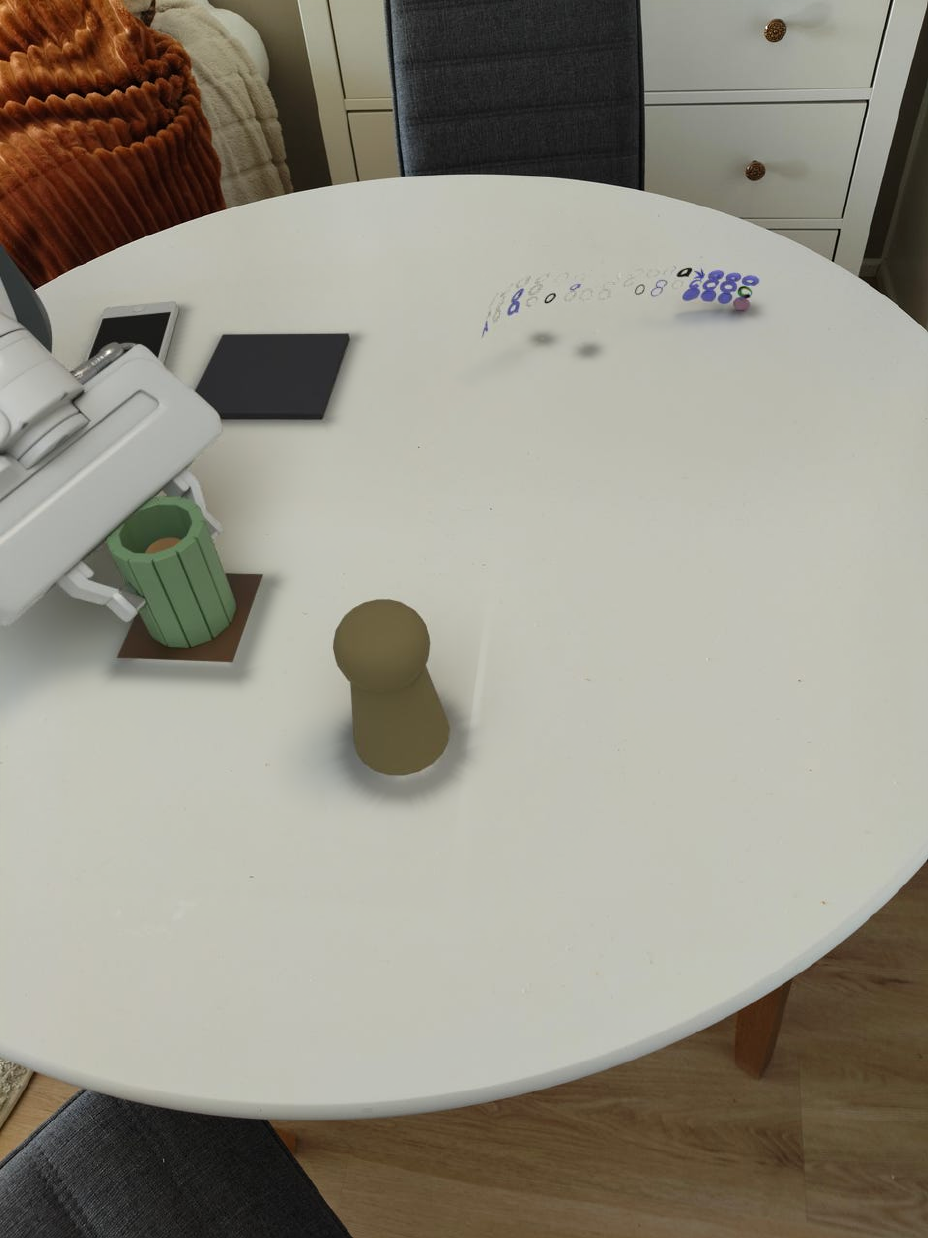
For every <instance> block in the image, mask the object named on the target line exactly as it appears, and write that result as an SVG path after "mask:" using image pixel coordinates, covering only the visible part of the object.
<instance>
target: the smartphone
mask: <svg viewBox="0 0 928 1238" xmlns="http://www.w3.org/2000/svg"><path fill="white" fill-rule="evenodd" d="M178 314H179V307H178V304H177V302H176V300H171V301H159V302H151V303H149V302H148V303H140V304H130V305H122V306H121V305H120V306H109V307H106V308H104V310H103V311H102V314H101V315H100V316H101V317H100V319H99V322H98V324H97V327H96V330H95V332H94V335H93V338H92V341H91V343H90V346H89V349H88V351H87V354H86V357H85V359H84V362H85V361H87V360H89V359H91V358H93V357H94V356H96V355H97V354H98V353H99V351H100V350H101V349H102V348H103V347H105V346H106V345H108V344H110V343H113V342H117V343H119V344H122V343H135V344H141V345H143V346H145V347H146V348H148V349H149V350H150V351H151V352H152V353H153V354H154V355H155V356H156V357H157V358H158V359H159V360H160V361H161V362H162V363H163V364H164V365H165V362H166V357H167V354H168V351H169V347H170V343H171V341H172V340H171V339H172V336H173V333H174V330H175V329H174V328H175V325H176V323H177V319H178ZM129 350H130V349H124V354H125V353H126V352H128V351H129ZM124 354H123V355H124ZM108 366H109V365H108ZM108 366H107V367H108ZM104 369H105V368H104ZM104 369H103V370H104Z"/></svg>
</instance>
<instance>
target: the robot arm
mask: <svg viewBox="0 0 928 1238" xmlns="http://www.w3.org/2000/svg"><path fill="white" fill-rule="evenodd" d="M1 242H2V241H0V626H3V627H7V626H11V625H12V624H13V623H15V622H16V621H17V620H18V619H20V617H21V616H23V615H24V614H25V613H26V612H27V611H28V610H29V609H31V607H33V606H34V605H35V604H36V603H37V602H39V601H40V600H41V599H42V598H43V597H44V596H45V595H47V594H48V592H50V591H51V590H52V589H53V588H54V587H55V586H56V585H58V586H59V587H60V588H61V589H62V590H63V591H64V592H65V593H67V594H68V595H69V596H70V597H71V598H74V599H78V600H81V601H86V602H89V603H93V604H97V605H101V606H106V607H107V608H109V609H110V610H111V611H112V612H113V613H114V614H115V615H116V616H117V617H118V618H119V619H120V620H122V621H123V622H124V623H129V622H131V620H132V619H133V620H134V618H135V616H136V615H137V614H138V613H139V612H140V611H141V610H142V609H143V608H144V607H145V606H146V605H147V604H148V602H147V600H146V598H145V597H144V596H142V595H141V594H137V590H136V589H135V588H134V587H133V586H132V585H131V584H130V583H129V582H128V583H127V584H124V585H123V586H122V587H121V588H120V589H119V588H115V587H112V586H110V585H106V584H104V583H99V582H97V581H94V580H91V578H92V577H93V576H94V575H95V573H94V571H93V569H91V568H90V567H89V566H88V565H87V564H86V563H85V562H84V560H86V559H87V558H88V557H89V556H90V555H92V553H94V552H95V551H96V550H97V549H98V548H99V547H100V546H101V545H103V544H104V543H105V542H107V540H106V537H107V536H108V535H109V534H110V533H111V532H113V531H114V530H115V529H116V528H117V527H118V526H119V525H120V524H122V523H123V522H124V521H125V520H126V519H127V518H128V517H130V516H131V515H132V514H133V513H134V512H135V511H136V510H137V509H139V508H140V507H141V506H142V505H143V504H144V503H145V502H146V501H148V500H149V499H151V498H154V497H157V496H158V495H159V494H160V493H161V492H163V493H164V494H165V495H166V496H167V497H181V498H183V497H184V498H186V499H188V500H190V501H192V502H194V503H196V504H198V506H199V507H200V508H201V511H202V513H203V516H204V518H205V521H206V524H207V526H208V529H209V532H210V535H211V537H212V540H213V541H214V540H215V539H216V538H218V537H219V535H220V534H221V533H223V531H224V527H223V526H222V524H221V523H220V522H219V521H218V520H217V519H216V518H215V517H214V516H213V515H212V514H211V513H210V512H209V511H208V510H207V503H206V501H205V497H204V493H203V490H202V487H201V483H200V480H199V479H198V478H197V477H196V476H195V474H193V472H191V471H190V470H189V469H188V468H190V466H192V465H193V464H194V463H195V462H197V460H198V459H199V458H201V457H202V456H203V455H204V454H205V453H206V452H208V451H209V450H210V448H211V447H213V445H214V444H216V442H217V441H218V440H219V439H220V438H221V436H222V435H223V433H224V430H223V423H222V418H220V416H219V414H218V413H217V412H216V410H215V409H214V408H213V407H212V406H211V405H209V404H208V403H207V402H206V401H205V400H204V399H203V398H202V397H201V396H200V395H198V394H197V393H196V392H195V390H194V389H193V388H191V387H190V386H189V385H188V384H187V383H186V382H184V381H183V380H182V379H181V378H179V377H178V376H177V375H176V374H174V373H173V372H171V371H170V370H168V368H167V367H166V366H165V363H164V364H163V363H162V362H161V361H160V360H159V359H158V358H157V357H156V356H155V355H154V354H153V353H152V352H151V351H150V350H149V349H148V348H146V347H145V346H143V345H141V344H135V343H122V344H119V343H117V342H113V343H110V344H108V345H106V346H105V347H103V348H102V349H101V350H100V351H99V353H98V354H97V355H96V356H94V357H93V358H91V359H89V360H87V361H85V360H84V362H82V363H80V364H79V365H78V366H76V367H75V368H74V369H72V370H70V371H69V370H68V369H67V367H65V366H64V365H63V363H61V362H60V361H59V360H58V359H57V358H56V357H55V356H54V355H53V330H52V329H53V328H52V325H51V320H50V317H49V314H48V311H47V308H46V307H45V305H44V303H43V301H42V299H41V298H40V296H39V294H38V293H37V291H36V290H35V289H34V287H33V286H32V285H31V283H30V282H29V280H28V279H27V278H26V277H25V275H24V274H23V272H21V270H20V269H19V268H18V266H17V265H16V263H15V262H14V261H13V259H12V258H11V257H10V255H9V254H8V252H7V251H6V248H4V246H3V244H2V243H1ZM124 349H130V350H129V351H128V352H126V353H125V354H124ZM123 354H124V355H123ZM108 365H109V366H108ZM107 366H108V367H107ZM104 368H105V369H104ZM103 369H104V370H103Z"/></svg>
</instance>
